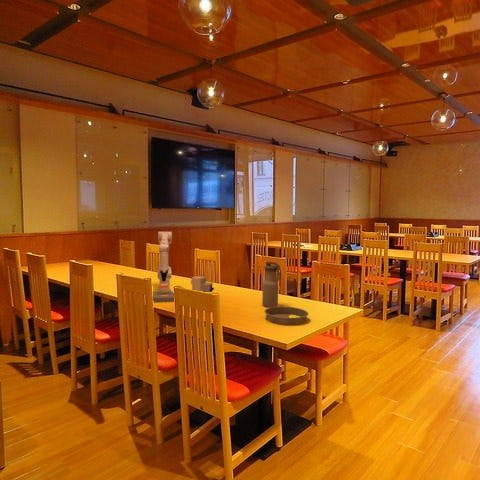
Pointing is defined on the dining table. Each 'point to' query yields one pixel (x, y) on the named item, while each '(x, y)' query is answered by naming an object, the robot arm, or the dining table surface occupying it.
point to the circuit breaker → (201, 284)
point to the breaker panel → (163, 296)
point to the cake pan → (285, 315)
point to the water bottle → (271, 285)
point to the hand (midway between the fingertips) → (163, 281)
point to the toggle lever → (164, 288)
